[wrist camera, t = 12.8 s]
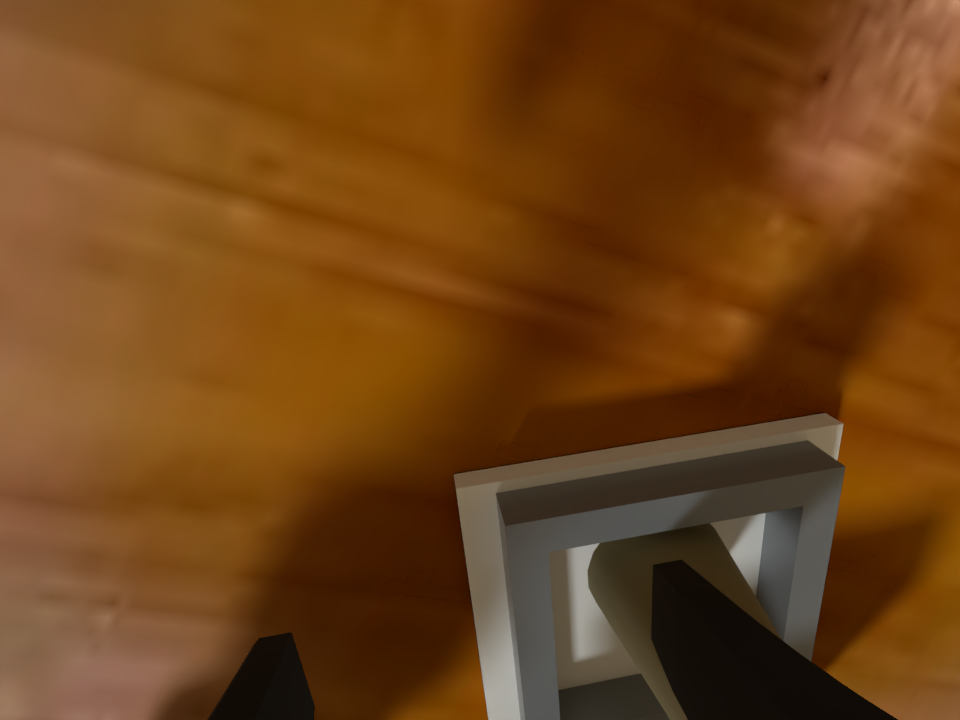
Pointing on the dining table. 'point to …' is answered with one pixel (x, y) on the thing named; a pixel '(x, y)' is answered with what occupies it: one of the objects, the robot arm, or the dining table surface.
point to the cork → (628, 591)
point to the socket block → (629, 513)
